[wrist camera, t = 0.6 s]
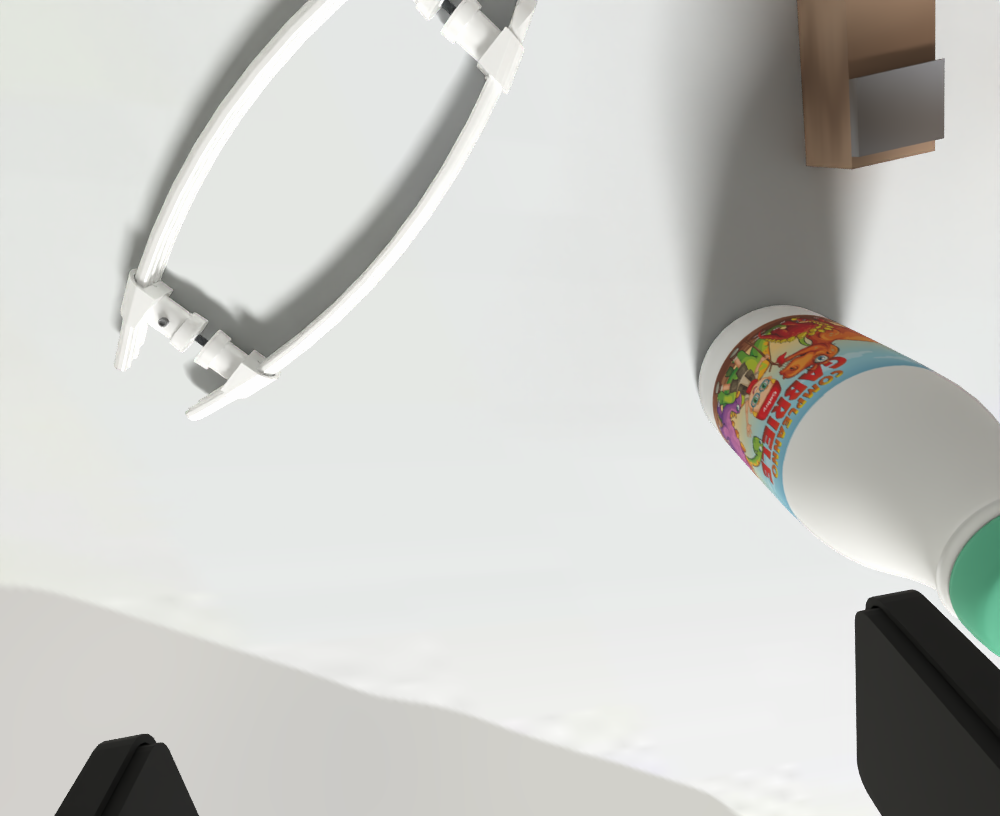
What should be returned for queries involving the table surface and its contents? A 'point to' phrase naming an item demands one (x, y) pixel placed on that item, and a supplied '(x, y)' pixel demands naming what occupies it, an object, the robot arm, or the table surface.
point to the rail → (869, 81)
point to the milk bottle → (866, 452)
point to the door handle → (144, 284)
